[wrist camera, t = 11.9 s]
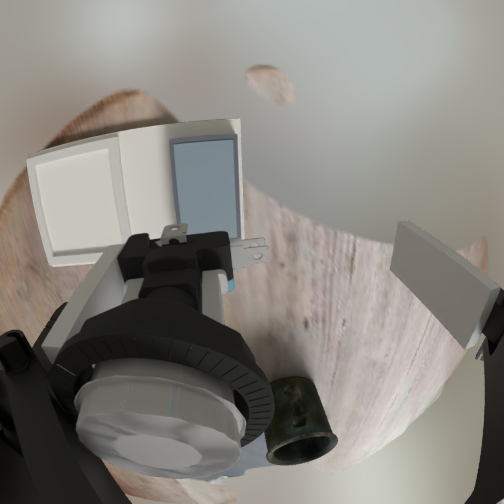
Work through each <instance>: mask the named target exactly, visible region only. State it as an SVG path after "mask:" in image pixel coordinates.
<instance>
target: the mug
mask: <svg viewBox="0 0 504 504" xmlns="http://www.w3.org/2000/svg"><path fill="white" fill-rule="evenodd" d="M270 386H271V390H272V394H273V398H274V403H275V411H274V416H273V419H272V421H271V423H270V425H269V426H268V427H267V429H266V430H265V431H264V433H265V439H266V444H267V449H268V452H267V455H266V458H267V460H268V461H269V462H270V463H272V464H276V465H296V464H301V463H306V462H309V461H312V460H315V459H317V458H319V457H321V456H323V455H325V454H327V453H328V452H330V451H331V450H332V449H333V448H334V447H335V446H336V445H337V443H338V438H337V436H336V435H335V434H333V433H332V430H331V427H330V425H329V422H328V419H327V416H326V414H325V411H324V408H323V405H322V403H321V400H320V397H319V395H318V392H317V389H316V387H315V385H314V383H312V382H311V381H309V380H308V379H305V378H301V377H289V378H284V379H281V380H278V381H275V382H273V383H272V384H270Z"/></svg>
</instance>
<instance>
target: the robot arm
mask: <svg viewBox="0 0 504 504" xmlns="http://www.w3.org/2000/svg"><path fill="white" fill-rule="evenodd" d="M124 246H125V245H124V244H117V245H109V246H108V248H107V249H106V250H105V251H104V253H103V254H102V255H101V257H100V258H99V259H98V261H97V262H96V263H95V265H94V266H93V267H92V269H91V270H90V272H89V273H88V274H87V276H86V277H85V278H84V280H83V281H82V283H81V284H80V286H79V287H78V288H77V290H76V291H75V293H74V294H73V296H72V297H71V299H70V300H69V302H65V303H64V304H62V305H61V306H60V307H59V308H58V309H57V310H56V311H55V312H54V314H53V315H52V317H51V318H50V321H48V323H47V324H46V326H45V327H46V328H44V329H43V331H42V332H41V334H40V336H39V337H38V339H37V341H36V342H35V344H34V346H33V347H32V348H31V346H30V344H29V343H28V341H27V339H26V337H25V335H24V334H23V332H22V331H20V330H11V331H8V332H6V333H4V334H2V335H1V336H0V367H1V368H2V370H0V504H132V503H131V502H130V500H129V499H128V498H127V496H126V495H125V494H124V492H123V491H122V490H121V488H120V487H119V485H118V484H117V483H116V481H115V480H114V478H113V477H112V475H111V474H110V472H109V471H108V469H107V468H106V466H105V464H104V463H103V461H102V460H101V458H100V457H98V456H96V455H95V454H94V453H92V452H91V451H90V450H88V449H87V448H86V447H85V445H84V444H83V443H82V442H81V441H80V440H79V436H78V434H77V432H76V424H77V423H76V422H75V421H74V420H73V419H72V418H71V417H70V416H69V415H68V414H67V413H66V411H65V410H64V409H63V408H62V406H61V405H60V403H59V402H58V400H57V398H56V396H55V394H54V391H53V388H52V384H51V369H52V366H53V363H54V361H55V359H56V357H57V354H58V352H59V351H60V349H61V347H62V346H63V345H64V344H65V343H66V341H67V340H69V339H70V338H71V337H72V336H74V335H75V334H77V333H79V332H80V330H81V328H82V325H83V323H84V322H85V321H86V320H87V319H89V318H91V317H93V316H96V315H98V314H100V313H103V312H105V311H107V310H110V309H112V308H114V307H117V306H119V305H121V303H122V300H123V298H124V295H125V293H124V290H123V287H124V285H125V283H124V280H123V277H122V273H121V270H120V266H119V263H118V259H117V257H118V255H119V254H120V252H121V251H122V249H123V248H124ZM390 270H391V271H392V272H393V273H394V274H395V275H396V276H397V277H398V278H399V279H400V280H401V281H402V282H403V283H404V284H405V285H406V286H407V287H408V288H409V289H410V290H411V291H412V292H413V294H414V295H415V296H416V297H417V298H418V299H419V300H420V301H421V302H422V303H423V304H424V305H425V306H426V307H427V308H428V309H429V310H430V311H431V312H432V314H433V315H434V316H435V317H436V318H437V319H438V320H439V321H440V322H441V323H442V325H443V326H444V327H445V328H446V329H447V330H448V331H449V332H450V333H451V335H452V336H453V337H454V338H455V339H456V340H457V342H458V343H459V344H460V345H461V346H462V347H463V349H464V350H466V349H468V348H470V347H472V346H474V345H476V343H477V341H478V340H479V337H480V335H481V334H482V333H483V334H484V335H485V336H486V338H485V339H484V341H483V343H482V345H481V347H480V349H479V351H478V353H477V354H476V358H475V359H478V357H479V356H480V354H483V356H482V357H481V359H480V360H482V361H484V374H485V409H484V428H483V439H482V448H481V455H480V462H479V468H478V473H477V479H476V484H475V488H474V491H473V492H472V494H471V496H470V497H469V498H468V500H467V501H466V502H465V504H504V290H503V289H502V288H501V286H500V285H499V284H498V283H497V282H496V281H494V280H493V279H492V278H490V277H489V276H488V275H487V274H485V273H484V272H483V271H482V270H480V269H479V268H478V267H476V266H475V265H474V264H472V263H471V262H470V261H468V260H467V259H465V258H464V257H463V256H461V255H460V254H458V253H457V252H456V251H454V250H453V249H451V248H450V247H449V246H447V245H445V244H444V243H443V242H441V241H440V240H438V239H437V238H435V237H434V236H432V235H430V234H429V233H427V232H426V231H425V230H423V229H421V228H420V227H418V226H417V225H415V224H414V223H412V222H410V221H398V224H397V231H396V238H395V244H394V250H393V256H392V261H391V266H390ZM94 366H95V364H93V365H92V367H93V369H94Z"/></svg>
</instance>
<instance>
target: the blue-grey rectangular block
mask: <svg viewBox="0 0 504 504" xmlns="http://www.w3.org/2000/svg"><path fill="white" fill-rule="evenodd" d="M169 147H170V161H171V172H172V183H173V193H174V203H175V212H176V220H177V224H180V223H187V224H188V228H187V233H186V235H190V234H198V233H207V232H215V231H226V232H228V235H229V238H237V237H241V216H240V191H239V165H238V137H237V134H219V135H205V136H193V137H183V138H173V139H169ZM178 229H179V228H178ZM241 240H242V239H241Z"/></svg>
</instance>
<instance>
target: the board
mask: <svg viewBox="0 0 504 504" xmlns="http://www.w3.org/2000/svg"><path fill="white" fill-rule="evenodd" d="M219 134H237V137H238V165H239V191H240V216H241V239H242V240H244V214H243V187H242V159H241V129H240V119H218V120H204V121H193V122H182V123H173V124H165V125H157V126H150V127H143V128H137V129H131V130H125V131H120V132H114V133H109V134H104V135H100V136H95V137H90V138H86V139H82V140H78V141H74V142H70V143H66V144H62V145H59V146H55V147H52V148H48V149H45V150H42V151H38V152H35V153H32V154H29V159H27V168H28V175H29V182H30V188H31V193H32V199H33V204H34V209H35V213H36V218H37V222H38V226H39V230H40V234H41V238H42V242H43V245H44V249H45V252H46V256H47V259H48V262H49V265H52V267H57V266H70V265H83V264H95V263H96V262H97V261H98V259H99V258H100V257H101V255H102V254H103V253H104V251H105V250H106V249H107V248H108V246H109V245H117V244H125V243H126V241H127V240H128V238H129V237H130V236H132V235H134V234H140V233H148V234H149V238H150V240H151V239H158V238H160V237H161V236H162V235H161V234H162V232H163V229H164V227H165V226H167V225H172V224H177V220H176V212H175V203H174V193H173V183H172V172H171V161H170V147H169V139H173V138H183V137H193V136H205V135H219ZM177 229H178V228H173V229H171V230H177Z"/></svg>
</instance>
